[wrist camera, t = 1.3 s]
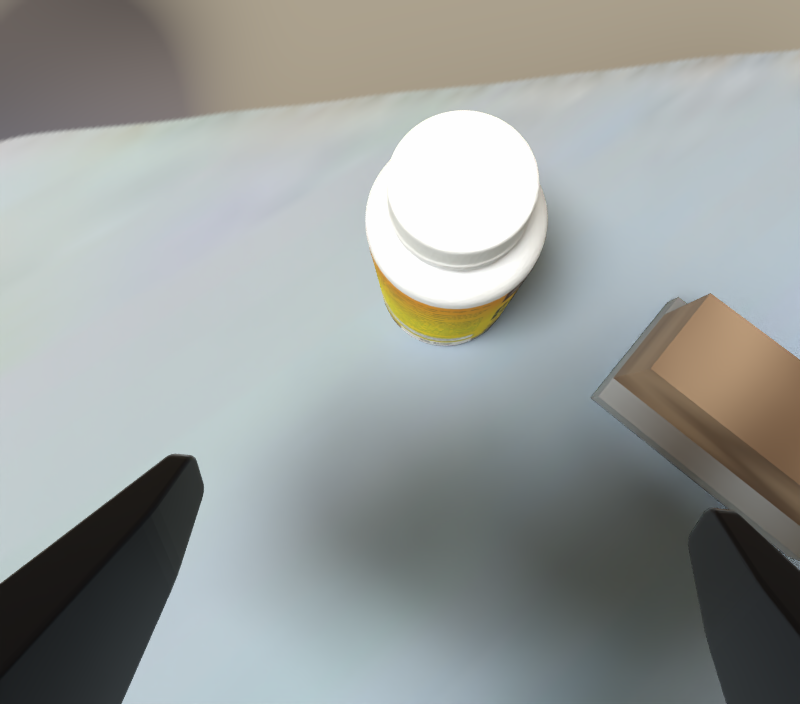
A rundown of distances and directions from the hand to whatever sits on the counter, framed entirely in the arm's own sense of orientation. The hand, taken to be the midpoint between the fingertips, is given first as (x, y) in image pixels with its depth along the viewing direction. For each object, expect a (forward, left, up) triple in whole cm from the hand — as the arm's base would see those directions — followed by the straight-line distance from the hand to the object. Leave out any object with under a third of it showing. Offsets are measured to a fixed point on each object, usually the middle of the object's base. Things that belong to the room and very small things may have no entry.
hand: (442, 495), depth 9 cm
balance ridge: (+9, -9, -13) cm, 18 cm away
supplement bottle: (+6, +4, -13) cm, 15 cm away
